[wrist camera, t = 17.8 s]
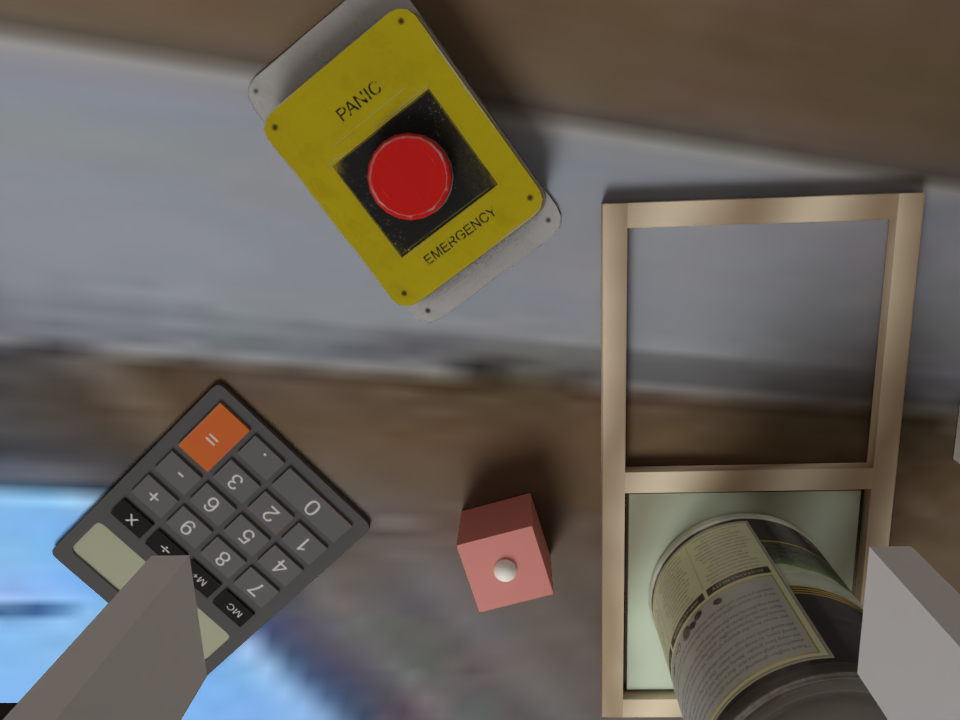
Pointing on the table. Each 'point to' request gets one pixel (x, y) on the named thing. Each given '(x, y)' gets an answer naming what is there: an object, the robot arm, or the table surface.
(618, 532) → the frame
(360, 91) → the emergency button
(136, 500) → the calculator
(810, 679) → the coffee can
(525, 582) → the red die
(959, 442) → the dome base
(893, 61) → the table surface
